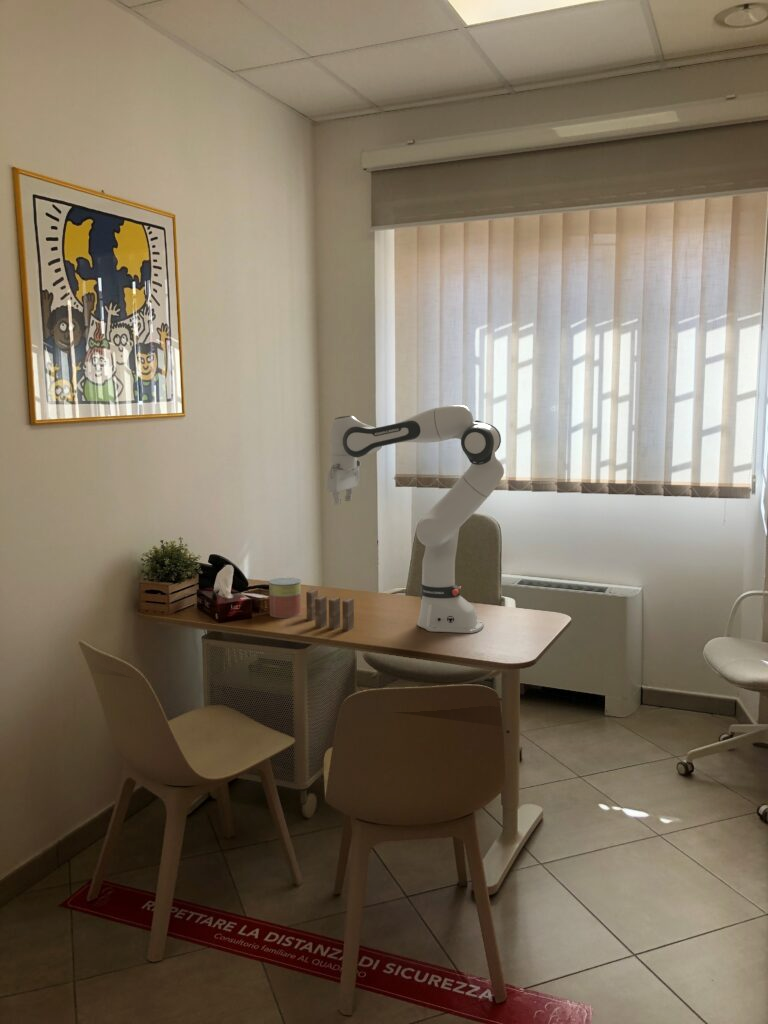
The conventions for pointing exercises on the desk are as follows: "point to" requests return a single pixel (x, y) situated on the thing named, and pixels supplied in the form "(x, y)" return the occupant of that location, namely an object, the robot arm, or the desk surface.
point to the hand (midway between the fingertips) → (342, 502)
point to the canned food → (285, 597)
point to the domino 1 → (311, 603)
